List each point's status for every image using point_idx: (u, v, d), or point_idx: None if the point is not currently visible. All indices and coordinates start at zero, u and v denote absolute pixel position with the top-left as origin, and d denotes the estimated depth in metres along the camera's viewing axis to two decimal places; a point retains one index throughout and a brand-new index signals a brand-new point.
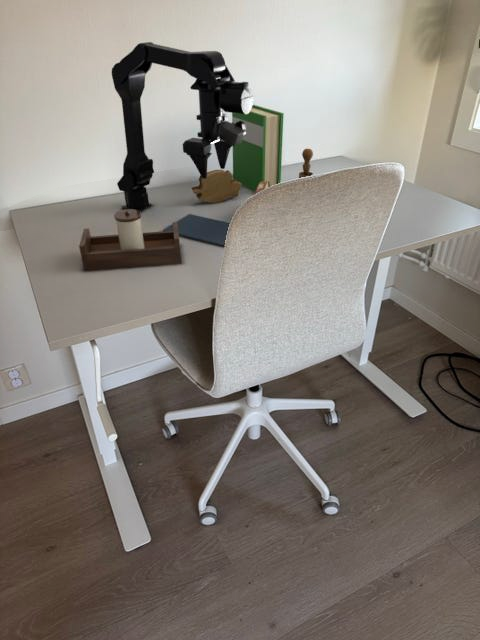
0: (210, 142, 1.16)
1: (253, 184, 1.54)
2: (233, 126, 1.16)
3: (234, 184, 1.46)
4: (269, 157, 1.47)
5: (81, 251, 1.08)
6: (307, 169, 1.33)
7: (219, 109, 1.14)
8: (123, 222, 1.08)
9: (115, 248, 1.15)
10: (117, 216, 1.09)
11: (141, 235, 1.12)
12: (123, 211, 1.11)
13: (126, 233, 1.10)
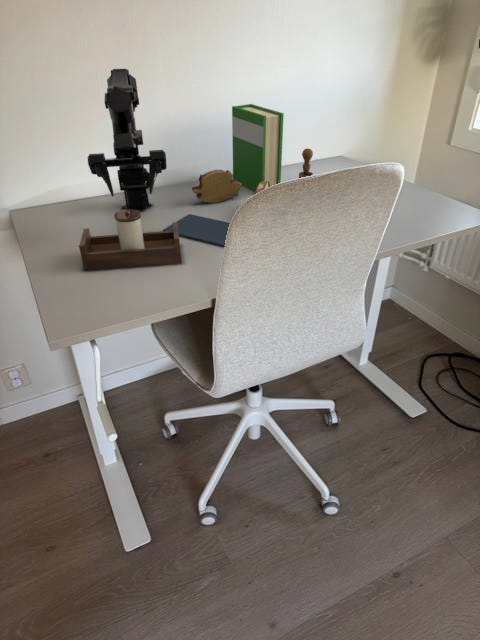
0: None
1: (253, 184, 1.54)
2: None
3: (234, 184, 1.46)
4: (269, 157, 1.47)
5: (81, 251, 1.08)
6: (307, 169, 1.33)
7: (121, 127, 1.14)
8: (123, 222, 1.08)
9: (115, 248, 1.15)
10: (117, 216, 1.09)
11: (141, 235, 1.12)
12: (123, 211, 1.11)
13: (126, 233, 1.10)
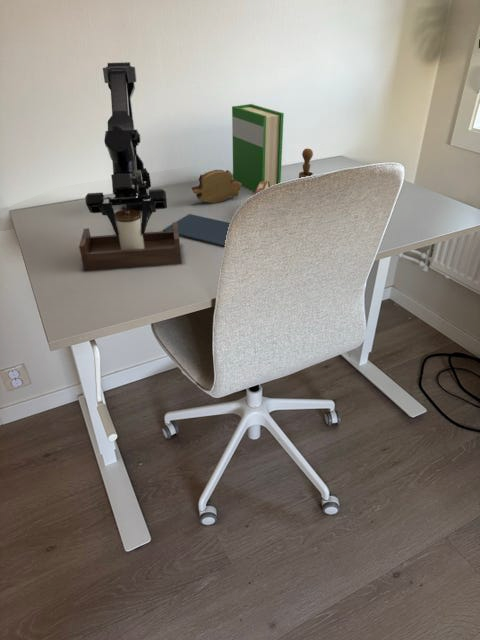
0: None
1: (253, 184, 1.54)
2: None
3: (234, 184, 1.46)
4: (269, 157, 1.47)
5: (81, 251, 1.08)
6: (307, 169, 1.33)
7: (121, 166, 1.11)
8: (123, 222, 1.08)
9: (115, 248, 1.15)
10: (117, 216, 1.09)
11: (141, 235, 1.12)
12: (123, 211, 1.11)
13: (126, 233, 1.10)
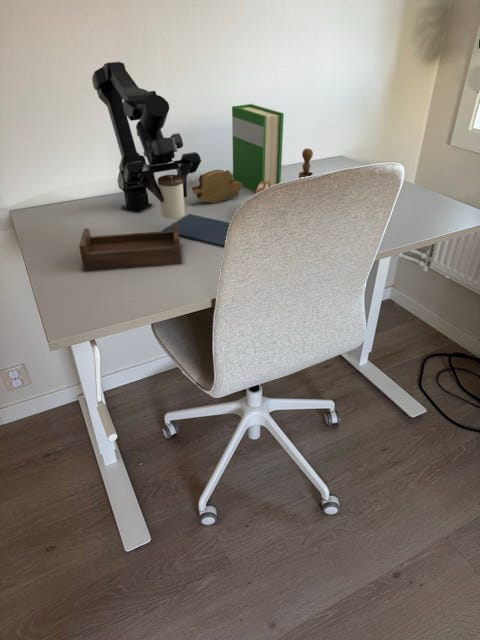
0: None
1: (253, 184, 1.54)
2: None
3: (234, 184, 1.46)
4: (269, 157, 1.47)
5: (81, 251, 1.08)
6: (307, 169, 1.33)
7: (152, 133, 1.13)
8: (171, 186, 1.11)
9: (115, 248, 1.15)
10: (163, 181, 1.11)
11: (183, 199, 1.15)
12: (163, 177, 1.13)
13: (173, 197, 1.12)
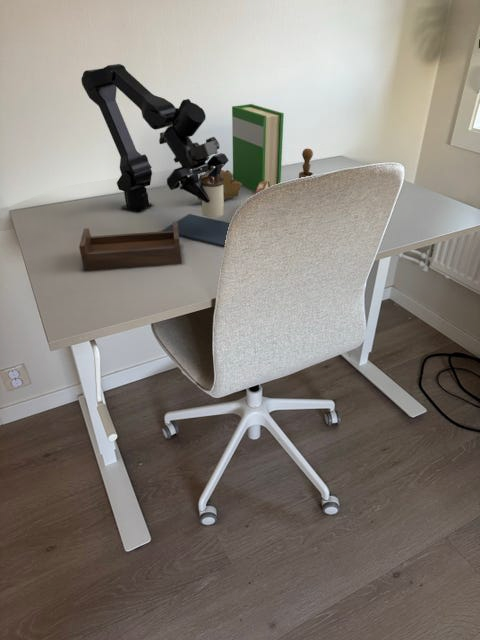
0: (196, 168, 1.19)
1: (253, 184, 1.54)
2: None
3: (234, 184, 1.46)
4: (269, 157, 1.47)
5: (81, 251, 1.08)
6: (307, 169, 1.33)
7: (185, 139, 1.18)
8: (217, 186, 1.18)
9: (115, 248, 1.15)
10: (209, 183, 1.18)
11: None
12: (204, 179, 1.20)
13: (219, 196, 1.20)
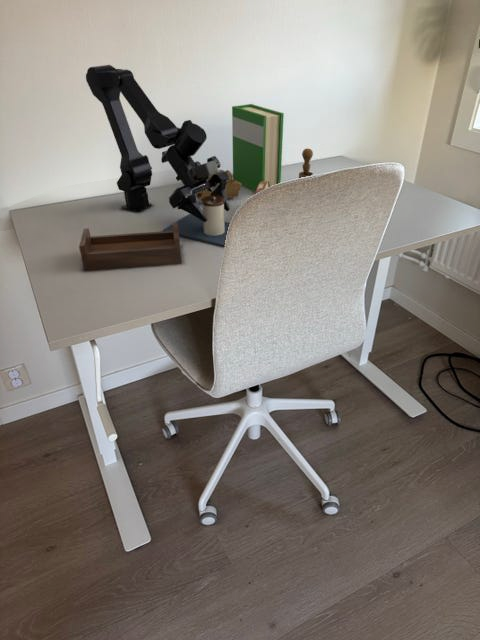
0: (193, 188, 1.21)
1: (253, 184, 1.54)
2: None
3: (234, 184, 1.46)
4: (270, 157, 1.47)
5: (81, 251, 1.08)
6: (307, 169, 1.33)
7: (186, 159, 1.21)
8: (218, 206, 1.21)
9: (115, 248, 1.15)
10: (210, 203, 1.21)
11: None
12: (205, 199, 1.23)
13: (219, 215, 1.23)
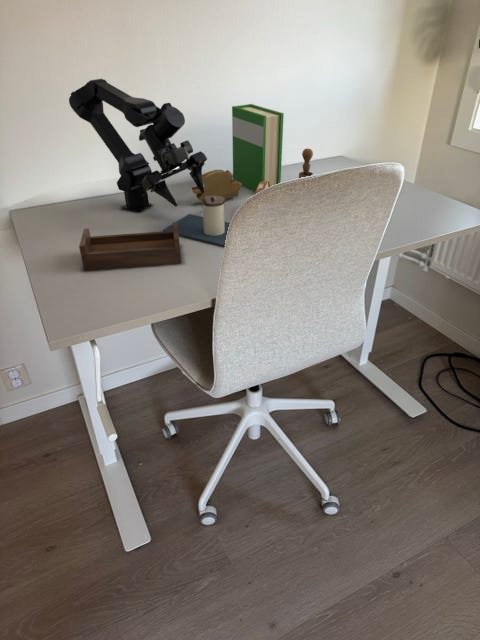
0: (165, 172, 1.24)
1: (253, 184, 1.54)
2: (177, 148, 1.21)
3: (234, 184, 1.46)
4: (269, 157, 1.47)
5: (81, 251, 1.08)
6: (307, 169, 1.33)
7: (163, 140, 1.23)
8: (218, 206, 1.21)
9: (115, 248, 1.15)
10: (210, 203, 1.21)
11: None
12: (205, 199, 1.23)
13: (219, 215, 1.23)
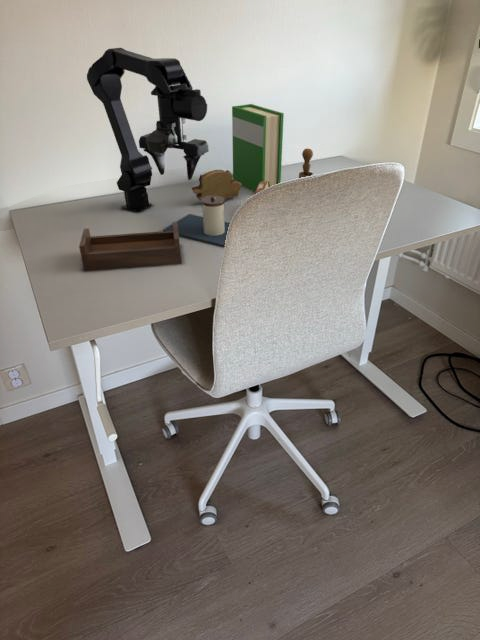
0: None
1: (253, 184, 1.54)
2: (161, 135, 1.16)
3: (234, 184, 1.46)
4: (269, 157, 1.47)
5: (81, 251, 1.08)
6: (307, 169, 1.33)
7: (176, 115, 1.16)
8: (218, 206, 1.21)
9: (115, 248, 1.15)
10: (210, 203, 1.21)
11: None
12: (205, 199, 1.23)
13: (219, 215, 1.23)
